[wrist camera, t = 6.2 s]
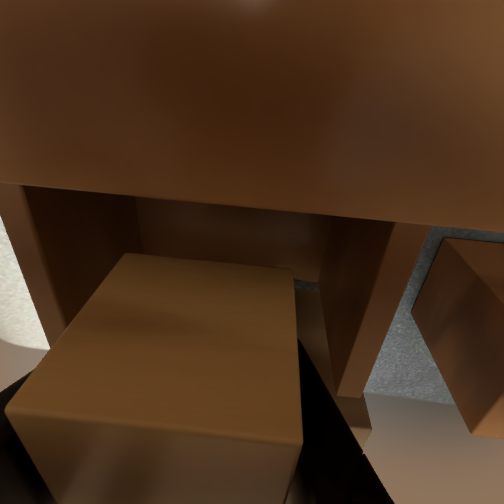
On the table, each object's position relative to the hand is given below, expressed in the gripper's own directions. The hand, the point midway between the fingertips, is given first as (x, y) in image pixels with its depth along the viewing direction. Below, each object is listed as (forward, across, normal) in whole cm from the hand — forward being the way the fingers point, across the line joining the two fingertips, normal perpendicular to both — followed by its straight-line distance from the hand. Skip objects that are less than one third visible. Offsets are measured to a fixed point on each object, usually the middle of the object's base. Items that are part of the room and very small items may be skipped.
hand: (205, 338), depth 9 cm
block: (+1, 0, 0) cm, 1 cm away
